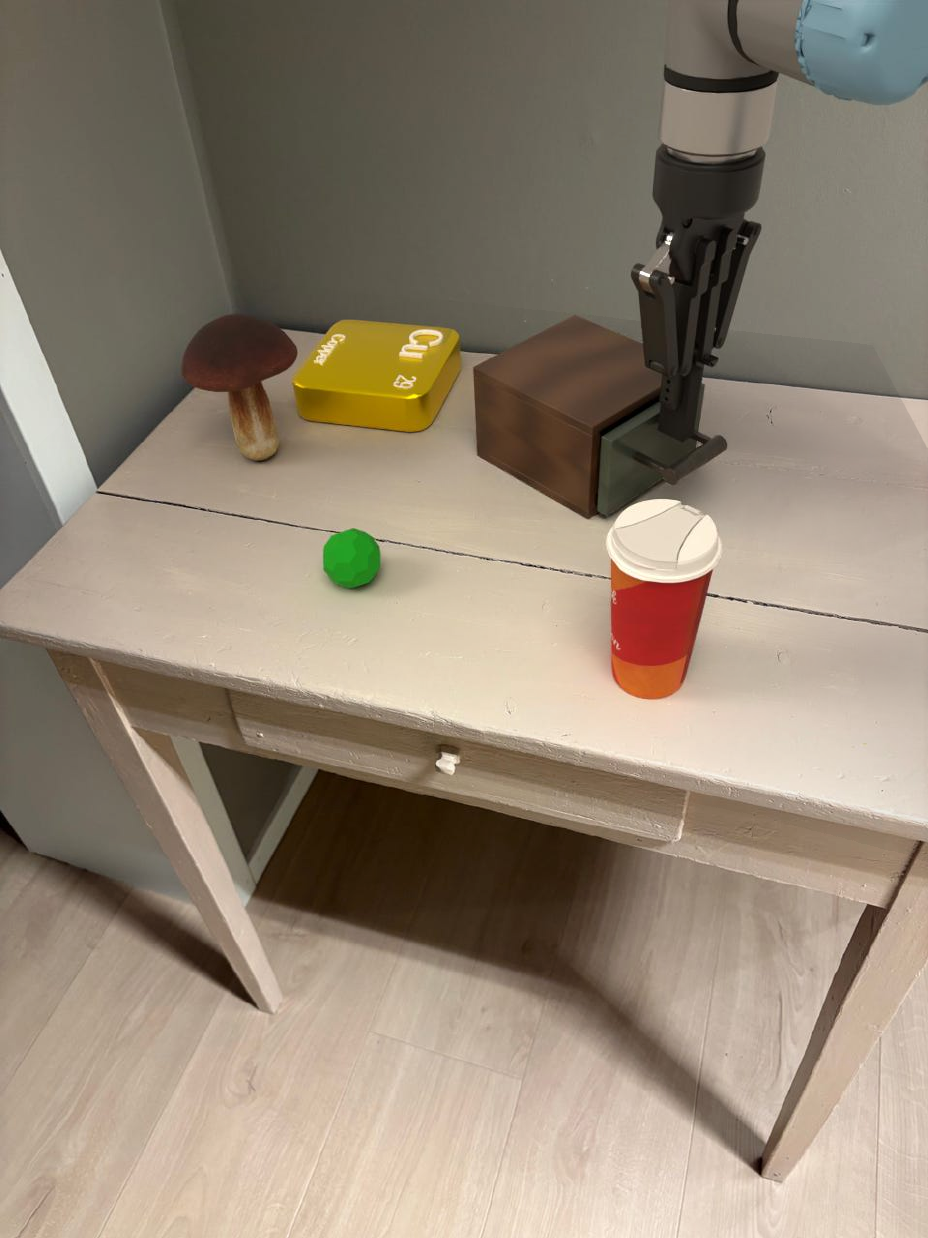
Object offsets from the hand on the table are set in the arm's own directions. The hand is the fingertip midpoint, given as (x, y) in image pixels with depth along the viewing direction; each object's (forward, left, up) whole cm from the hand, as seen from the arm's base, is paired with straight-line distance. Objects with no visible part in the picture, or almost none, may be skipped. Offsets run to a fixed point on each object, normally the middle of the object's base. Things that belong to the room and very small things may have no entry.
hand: (675, 432), depth 83 cm
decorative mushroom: (+40, -9, -8) cm, 41 cm away
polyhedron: (+28, +10, -8) cm, 31 cm away
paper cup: (+4, +21, -8) cm, 23 cm away
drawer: (+4, -4, -7) cm, 9 cm away
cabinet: (+8, -8, -8) cm, 13 cm away
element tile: (+29, -21, -8) cm, 36 cm away
